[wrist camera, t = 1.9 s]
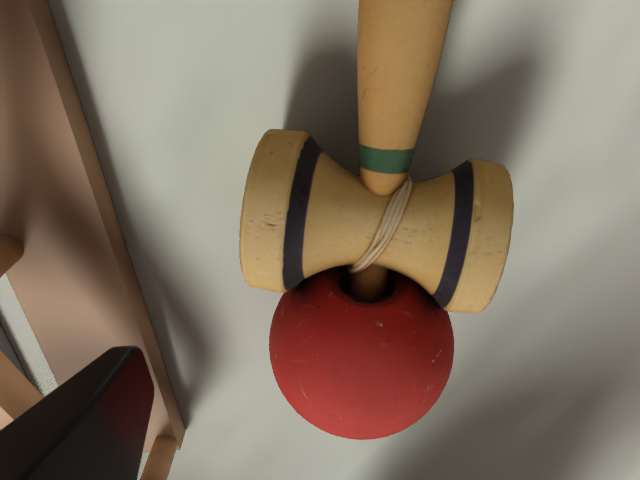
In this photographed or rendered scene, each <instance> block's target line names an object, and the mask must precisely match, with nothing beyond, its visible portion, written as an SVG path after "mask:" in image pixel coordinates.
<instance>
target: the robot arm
mask: <svg viewBox="0 0 640 480" xmlns="http://www.w3.org/2000/svg"><path fill="white" fill-rule="evenodd" d="M154 394H155V390H154V383H153V380H152V377H151V374H150V371H149V368H148V365H147V362H146V359H145V356H144V353H143V351H142V349H141V348H140V347H139V346H136V345H129V346H116V347H112V348H110V349H109V350H107V351H106V352H104V353H103V354H102V355H100V356H99V357H98V358H96V359H95V360H94V361H92V362H91V363H90V364H88V365H87V366H86V367H84V368H83V369H82V370H80V371H79V372H78V373H76V374H75V375H74V376H72V377H71V378H70V379H68V380H67V381H66V382H64V383H63V384H62V385H60V386H59V387H57V388H56V389H55V390H53V391H52V392H51V393H49V394H48V395H47V396H45V397H44V398H43V399H41V400H40V401H39V402H37V403H36V404H35V405H33V406H32V407H31V408H29V409H28V410H27V411H25V412H24V413H23V414H21V415H20V416H19V417H17V418H16V419H15V420H13V421H12V422H11V423H9V424H8V425H7V426H5V427H4V428H3V429H1V430H0V480H137V477H138V472H139V467H140V463H141V458H142V453H143V449H144V444H145V439H146V434H147V430H148V425H149V420H150V415H151V411H152V406H153V401H154Z"/></svg>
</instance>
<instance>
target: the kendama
mask: <svg viewBox="0 0 640 480" xmlns="http://www.w3.org/2000/svg"><path fill="white" fill-rule="evenodd" d="M452 4H453V0H359V13H358V43H357V76H358V78H357V91H358V124H359V149H360V164H359V167H360V177H359V176H357V175H355V174H353V173H351V172H350V171H348V170H346V169H344V168H343V167H341V166H340V165H339V164H337V163H336V162H335V161H333V160H332V159H331V158H330V157H329V156H328V155H327V154H326V153H325V152H324V151H323V150H322V149H321V148H320V147H319V146H318V144H317V143H316V142H315V141H314V139H313V138H312V136H311V135H310V134H309V133H308V132H305V131H292V130H280V129H270V130H268V131H267V132H266V133H265V134H264V135H263V137H262V138H261V140H260V142H259V144H258V146H257V148H256V150H255V153H254V156H253V158H252V162H251V165H250V168H249V172H248V176H247V180H246V186H245V192H244V197H243V204H242V212H241V220H240V244H239V245H240V264H241V270H242V272H243V275H244V278H245V281H246V282H247V284H248V285H250V286H251V287H255V288H260V289H266V290H271V291H276V292H282V293H284V294H283V296H282V297H281V299H280V301H279V303H278V305H277V308H276V310H275V313H274V316H273V319H272V324H271V329H270V336H269V351H270V360H271V364H272V369H273V373H274V376H275V379H276V381H277V383H278V386H279V388H280V390H281V391H282V393H283V395H284V396H285V398H286V399H287V401H288V402H289V403H290V405H291V406H292V407H293V408H294V409H295V411H296V412H297V413H298V414H300V415H301V416H302V417H303V418H304V419H306V420H307V421H308V422H310V423H311V424H313V425H314V426H316V427H318V428H319V429H321V430H323V431H325V432H328V433H330V434H333V435H336V436H340V437H344V438H349V439H358V440H365V439H376V438H382V437H387V436H389V435H392V434H395V433H398V432H400V431H402V430H404V429H406V428H407V427H409V426H411V425H412V424H414V423H415V422H417V421H418V420H419V419H420V418H422V417H423V416H424V415H425V414H426V413H427V412H428V411H429V410H430V409H431V408H432V406H433V405H434V404H435V402H436V401H437V400H438V398H439V397H440V395H441V393H442V391H443V390H444V387H445V386H446V383H447V381H448V378H449V375H450V372H451V368H452V363H453V354H454V336H453V330H452V326H451V322H450V318H449V315H448V312H447V311H451V312H464V313H478V312H481V311H483V310H484V309H485V308H486V306H487V305H488V304H489V303H490V301H491V300H492V298H493V296H494V294H495V292H496V290H497V287H498V284H499V281H500V279H501V276H502V273H503V270H504V266H505V263H506V259H507V255H508V250H509V245H510V239H511V230H512V224H513V210H514V203H513V189H512V182H511V178H510V174H509V173H508V171H507V169H506V168H505V166H503V165H501V164H497V163H492V162H488V161H483V160H478V159H468V160H466V161H465V162H464V163H462V164H460V165H459V166H457V167H456V168H454V169H452V170H451V171H449V172H447V173H445V174H443V175H441V176H439V177H437V178H434V179H431V180H427V181H422V182H417V183H413V181H412V180H411V178H410V177H409V176H408V168H409V165H410V162H411V159H412V156H413V155H414V150H415V145H416V142H417V139H418V135H419V131H420V129H421V125H422V121H423V118H424V115H425V111H426V108H427V105H428V102H429V98H430V94H431V90H432V87H433V84H434V80H435V76H436V72H437V68H438V64H439V60H440V57H441V53H442V48H443V44H444V40H445V36H446V32H447V27H448V22H449V17H450V13H451V8H452Z"/></svg>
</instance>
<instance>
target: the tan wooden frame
mask: <svg viewBox="0 0 640 480" xmlns="http://www.w3.org/2000/svg"><path fill="white" fill-rule="evenodd" d="M4 273H6V275H7V277H8V280H9V282H10V284H11V286H12V288H13V290H14V292H15V294H16V297H17V299H18V301H19V303H20V305H21V307H22V309H23V311H24V314H25V316H26V318H27V320H28V322H29V324H30V326H31V328H32V331H33V333H34V335H35V337H36V339H37V341H38V343H39V345H40V348H41V350H42V352H43V354H44V356H45V358H46V360H47V362H48V364H49V367H50V369H51V371H52V373H53V375H54V377H55V379H56V381H57V384H58V386H60V385H62V384H63V383H64V382H66V381H67V380H68V379H70V378H71V377H72V376H74V375H75V374H76V373H78V372H79V371H80V370H82V369H83V368H84V367H86V366H87V365H88V364H90V363H91V362H92V361H94V360H95V359H96V358H98V357H99V356H100V355H102V354H103V353H104V352H106V351H107V350H109V349H110V348H112V347H116V346H129V345H136V346H139V347H140V348H141V349H142V351H143V353H144V356H145V359H146V362H147V365H148V368H149V371H150V374H151V377H152V380H153V383H154V390H155V394H154V401H153V406H152V411H151V415H150V420H149V425H148V430H147V434H146V439H145V444H144V449H143V452H150V454H149V457H148V459H147V462H146V465H145V468H144V470H143V473H142V476H141V479H140V480H167V477H168V474H169V471H170V467H171V464H172V461H173V458H174V454H175V451H176V450H180V448H181V444H182V441H183V438H184V435H185V428H184V425H183V422H182V419H181V415H180V412H179V409H178V406H177V403H176V400H175V397H174V394H173V390H172V387H171V384H170V381H169V378H168V375H167V372H166V369H165V366H164V362H163V359H162V356H161V353H160V350H159V347H158V344H157V341H156V337H155V334H154V331H153V328H152V325H151V322H150V319H149V316H148V313H147V309H146V306H145V303H144V300H143V297H142V294H141V291H140V288H139V284H138V281H137V278H136V275H135V272H134V269H133V266H132V263H131V260H130V256H129V253H128V250H127V247H126V244H125V241H124V238H123V235H122V232H121V228H120V225H119V222H118V219H117V216H116V213H115V210H114V207H113V203H112V200H111V197H110V194H109V191H108V188H107V185H106V182H105V179H104V175H103V172H102V169H101V166H100V163H99V160H98V157H97V154H96V150H95V147H94V144H93V141H92V138H91V135H90V132H89V129H88V126H87V122H86V119H85V116H84V113H83V110H82V107H81V104H80V101H79V97H78V94H77V91H76V88H75V85H74V82H73V79H72V76H71V73H70V69H69V66H68V63H67V60H66V57H65V54H64V51H63V48H62V44H61V41H60V38H59V35H58V32H57V29H56V26H55V23H54V20H53V16H52V13H51V10H50V7H49V4H48V1H47V0H0V277H1V276H2V275H3V274H4ZM43 398H44V397H43V396H42V395H41V394H40V393H39V392H38V390H37V389H36V388H35V387H34V386H33V385H32V384H31V383H30V382H29V381H28V380H27V379H26V377H25V376H24V375H23V374H22V373H21V372H20V371H19V370H18V369H17V368H16V367H15V366H14V364H13V363H12V362H11V361H10V360H9V359H8V358H7V357H6V356H5V355H4V354H3V353H2V352H1V350H0V430H1V429H3V428H4V427H5V426H7V425H8V424H9V423H11V422H12V421H13V420H15V419H16V418H17V417H19V416H20V415H21V414H23V413H24V412H25V411H27V410H28V409H29V408H31V407H32V406H33V405H35V404H36V403H37V402H39V401H40V400H41V399H43Z"/></svg>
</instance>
